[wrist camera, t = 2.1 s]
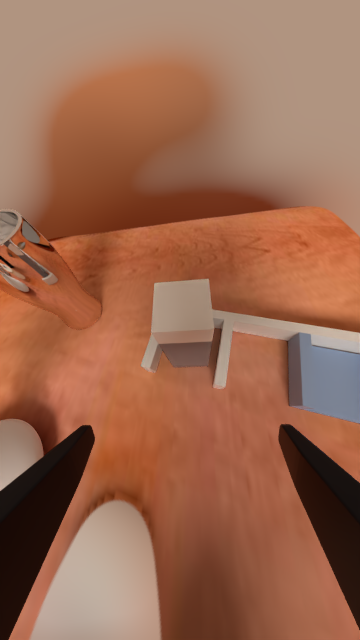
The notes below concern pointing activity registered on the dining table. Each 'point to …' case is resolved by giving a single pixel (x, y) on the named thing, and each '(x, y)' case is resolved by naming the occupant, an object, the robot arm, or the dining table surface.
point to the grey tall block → (183, 321)
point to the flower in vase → (17, 449)
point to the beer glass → (41, 274)
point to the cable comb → (295, 361)
